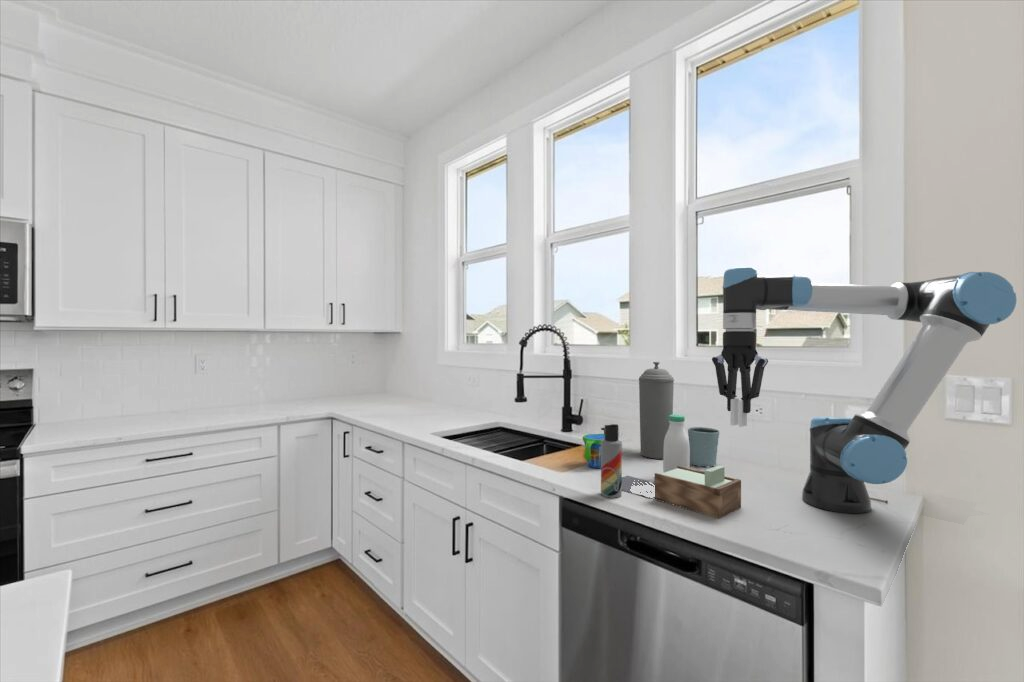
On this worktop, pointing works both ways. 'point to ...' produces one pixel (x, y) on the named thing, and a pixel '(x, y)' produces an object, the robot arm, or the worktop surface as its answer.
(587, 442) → the snack cup
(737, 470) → the worktop surface
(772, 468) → the worktop surface
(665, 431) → the canister
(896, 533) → the worktop surface
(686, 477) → the lid
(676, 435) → the milk bottle
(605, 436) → the lotion bottle
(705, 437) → the teal cup
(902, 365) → the robot arm
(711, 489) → the walnut box
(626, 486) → the mat
